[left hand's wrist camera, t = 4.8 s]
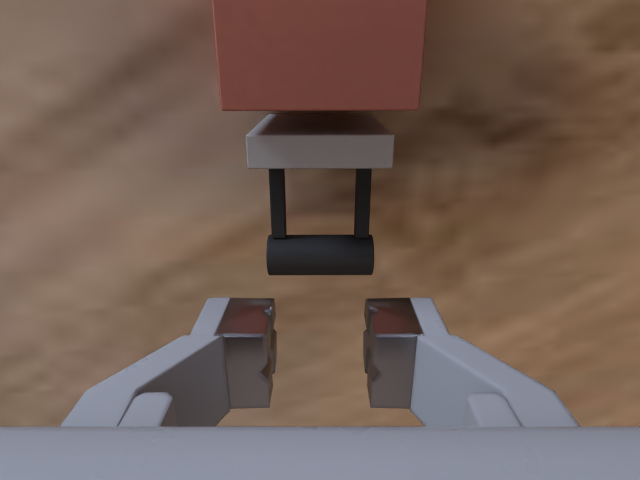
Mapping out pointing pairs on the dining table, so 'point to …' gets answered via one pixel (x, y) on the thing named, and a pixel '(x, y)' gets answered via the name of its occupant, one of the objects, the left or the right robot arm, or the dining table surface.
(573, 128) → the dining table surface
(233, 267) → the dining table surface
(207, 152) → the dining table surface
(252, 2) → the cabinet
